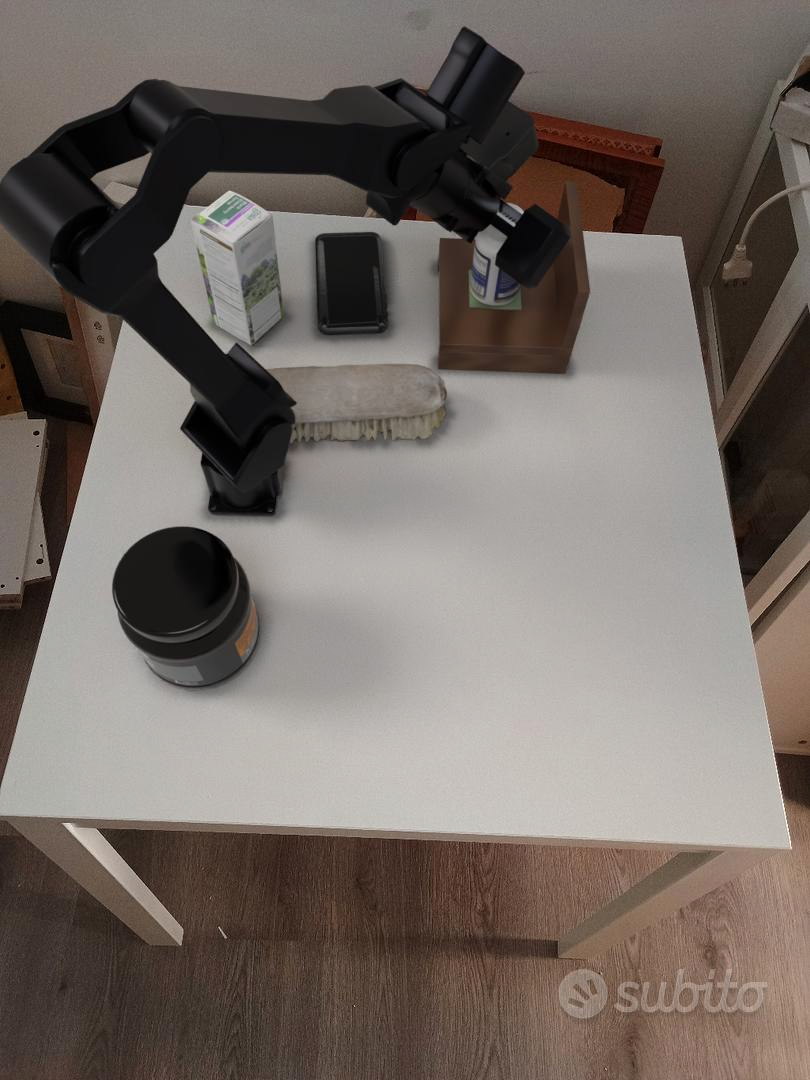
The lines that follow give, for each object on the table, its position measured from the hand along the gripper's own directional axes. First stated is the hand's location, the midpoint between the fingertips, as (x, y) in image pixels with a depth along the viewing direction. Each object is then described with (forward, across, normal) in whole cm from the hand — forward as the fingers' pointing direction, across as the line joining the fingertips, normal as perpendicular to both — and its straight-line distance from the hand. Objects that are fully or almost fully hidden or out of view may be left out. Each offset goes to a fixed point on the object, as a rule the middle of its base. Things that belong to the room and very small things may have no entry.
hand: (510, 229), depth 84 cm
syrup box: (-7, +17, +24) cm, 30 cm away
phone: (+2, +14, +15) cm, 21 cm away
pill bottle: (+5, 0, +6) cm, 8 cm away
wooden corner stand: (+8, -1, +8) cm, 12 cm away
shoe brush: (-8, +1, +25) cm, 26 cm away
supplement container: (-26, -10, +42) cm, 51 cm away
